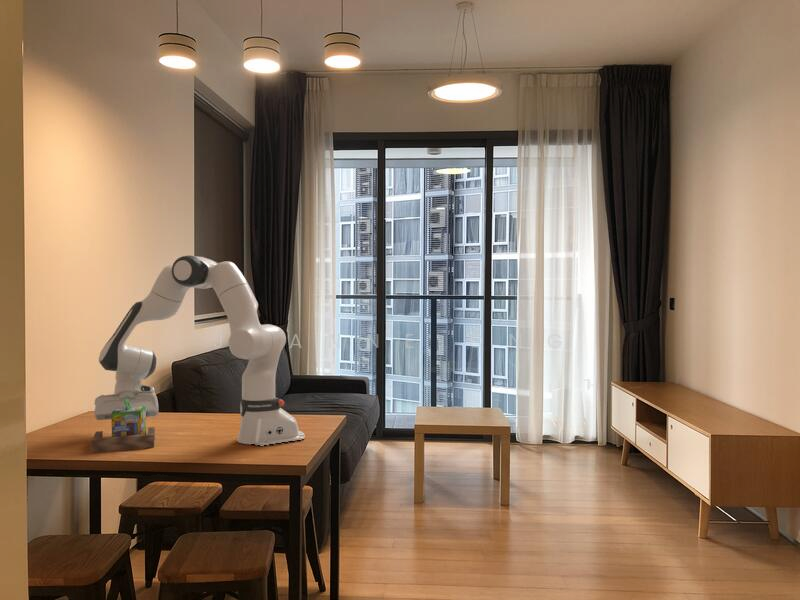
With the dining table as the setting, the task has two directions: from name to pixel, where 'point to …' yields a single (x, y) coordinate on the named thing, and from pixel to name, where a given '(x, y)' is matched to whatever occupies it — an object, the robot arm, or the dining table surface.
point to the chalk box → (128, 420)
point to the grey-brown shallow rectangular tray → (122, 441)
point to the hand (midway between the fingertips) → (126, 427)
